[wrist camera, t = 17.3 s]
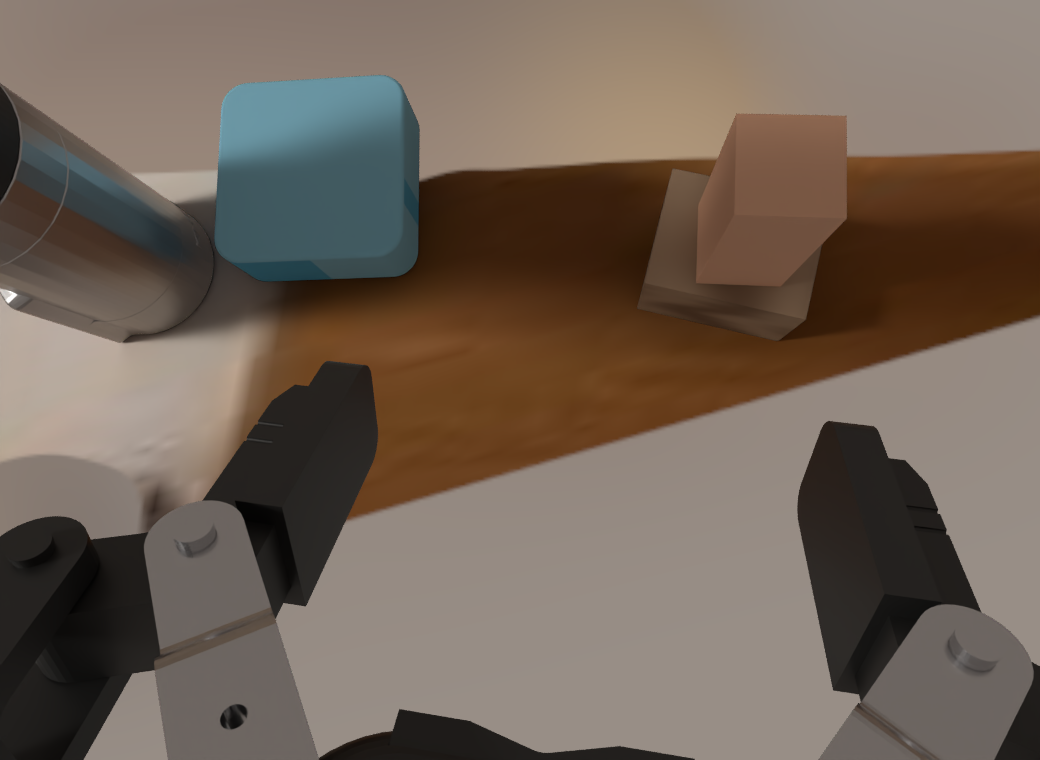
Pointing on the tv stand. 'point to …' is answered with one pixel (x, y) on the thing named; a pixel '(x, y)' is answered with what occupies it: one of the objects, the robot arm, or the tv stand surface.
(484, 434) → the tv stand surface
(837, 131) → the terracotta block
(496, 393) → the tv stand surface
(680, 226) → the grey brown block
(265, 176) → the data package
